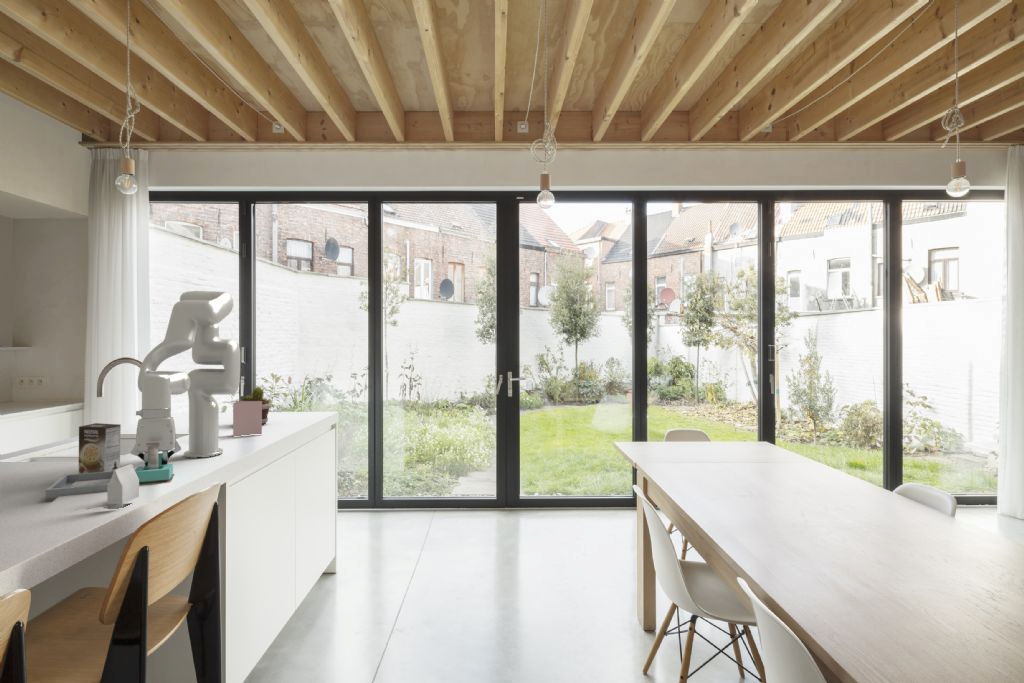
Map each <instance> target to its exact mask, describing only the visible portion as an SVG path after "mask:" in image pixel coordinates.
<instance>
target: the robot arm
mask: <svg viewBox="0 0 1024 683" xmlns="http://www.w3.org/2000/svg"><path fill="white" fill-rule="evenodd" d="M233 308H234V299H233V297H232V295H231V294H230V293H228V292H227V291H212V290H211V291H210V290H209V291H207V290H192V291H190V290H189V291H185V292H183V293H182V294H181V295H180V296H179V301H177V302H176V303H175V304H174V305H173V307H172V310H171V313H170V316H169V321H168V325H167V328H166V331H165V336H164V339H163V341H161V342H160V343H159V344H157V345H156V346H155V347H154V348H152V349H151V350H150V351H149V353H147V354H146V356H145V357H144V359H143V361H142V363H141V365H140V370H139V372H138V378H137V387H138V390H139V391H140V393H141V409H140V410H136V411H135V416H140V418H138V420H137V425H136V432H135V433H136V435H135V444H134V446H133V448H132V449H131V451H130V454H131V455H133V456H135V457H138V458H139V459H141V460H142V461H143V462H144V466H148V447H146V443H147V442H159V441H160V446H158V453H163V458H162V465H165V464H169V463H168V462H169V461H168V460H169V458H171V457H172V456H174V455H175V454H176V453H178V452H180V451H181V450H182V447H181V446H180V444H179V442H178V440H177V434H176V424H175V419H174V417H173V416H172V396H173V395H174V396H175V395H176V396H177V395H182V394H185V393H186V392H187V395H188V450H186V451H185V452H183V456H184V457H185V458H189V457H190V458H189V459H191V458H192V459H195V458H196V459H197V457H202V458H209V457H210V456H211V457H215V455H216V456H219V455H218V454H220V455H222V454H223V453H224V449H223V448H219V418H220V417H219V413H220V412H219V409H220V408H219V405H218V402H217V400H216V399H215V397H214V396H213V395H219V396H220V395H228V396H229V395H234V394H236V393H237V392H238V391H239V387H240V382H241V381H240V379H241V377H240V376H241V349H240V346H239V343H238V342H237V341H235V340H233V339H222V338H221V339H220V334H219V333H220V327H219V323H220V322H221V321H223V320H224V319H225V318H226V317H228V316H229V315H230V313H232V310H233ZM190 349H191V358H192V361H193V362H194V363H195V364H197V365H203V366H223V368H196V369H192V370H191V371H189V372H188V373H185V372H184V371H179V370H178V371H175V370H174V371H173V370H172V371H170V370H167V371H165V370H158V368H159V366H160V365H161V364H162V363H163V362H164V361H166V360H167V359H169V358H171V357H174V356H176V355H178V354H181V353H183V352H186V351H189V350H190ZM222 452H223V453H222ZM221 453H222V454H221Z"/></svg>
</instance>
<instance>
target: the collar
mask: <svg viewBox="0 0 1024 683" xmlns="http://www.w3.org/2000/svg"><path fill="white" fill-rule="evenodd" d="M162 458H163V453H162V452H158V469H152V470H148V466H145V465H142V466H137V467H136V468H135V469H134V470H135V472H136V474H137V476H138V478H139V482H147V481H158V480H169V479H170V477H171V476H172V474H174V470H173V468H174V465H173V463H170V464H169V463H168V464H165V465H162Z"/></svg>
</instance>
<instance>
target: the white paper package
mask: <svg viewBox="0 0 1024 683" xmlns="http://www.w3.org/2000/svg"><path fill="white" fill-rule="evenodd" d="M110 479H111V480H110ZM110 479H109V480H110V482H109V484H108V486H107V491H106V493H107V502H106V503H107V504H106V505H107V506H106V507H107V510H120V509H119V508H124V507H126V506H128V505H130V504H132V503H133V502H130V501H133V500H134V499H136V498H139V497H140V485H139V478H138V476H137V474H136V472H135V469H134V465H133V463H130V464H129V463H128V464H127V465H124V466H122V467H121V466H120V468H118V469H116V470H114V472H113V475H112V478H110ZM128 502H130V503H128ZM132 505H133V504H132ZM130 506H131V505H130ZM128 507H129V506H128ZM126 508H127V507H126ZM124 509H125V508H124Z"/></svg>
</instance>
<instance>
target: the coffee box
mask: <svg viewBox="0 0 1024 683" xmlns="http://www.w3.org/2000/svg"><path fill="white" fill-rule="evenodd" d="M121 429H122V428H121V424H117V423H114V424H113V423H100V422H95V423H90V424H86V425H81V426H78V474H82V473H94V472H106V471H114V470H116V469H118V468H121V431H122V430H121Z"/></svg>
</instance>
